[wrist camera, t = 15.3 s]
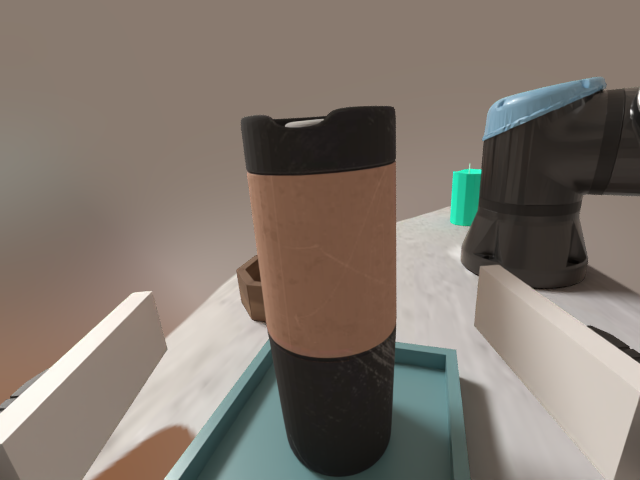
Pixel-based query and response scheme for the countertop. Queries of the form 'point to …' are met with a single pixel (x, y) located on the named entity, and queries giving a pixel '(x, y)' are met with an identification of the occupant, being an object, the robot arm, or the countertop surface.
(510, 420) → the countertop surface
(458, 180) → the candle
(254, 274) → the walnut collar
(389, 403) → the travel mug
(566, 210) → the robot arm
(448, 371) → the slate tray
